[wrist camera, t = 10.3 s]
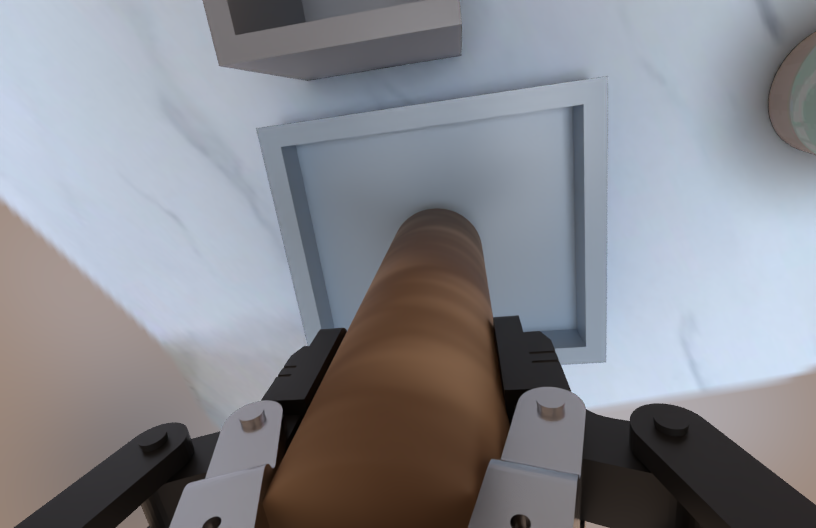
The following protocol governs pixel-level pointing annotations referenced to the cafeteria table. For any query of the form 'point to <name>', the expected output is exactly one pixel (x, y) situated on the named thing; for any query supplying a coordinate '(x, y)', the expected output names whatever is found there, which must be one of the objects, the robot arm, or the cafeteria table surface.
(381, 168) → the tray
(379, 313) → the walnut peg
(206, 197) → the cafeteria table surface
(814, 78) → the coffee cup
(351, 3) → the grey square frame
